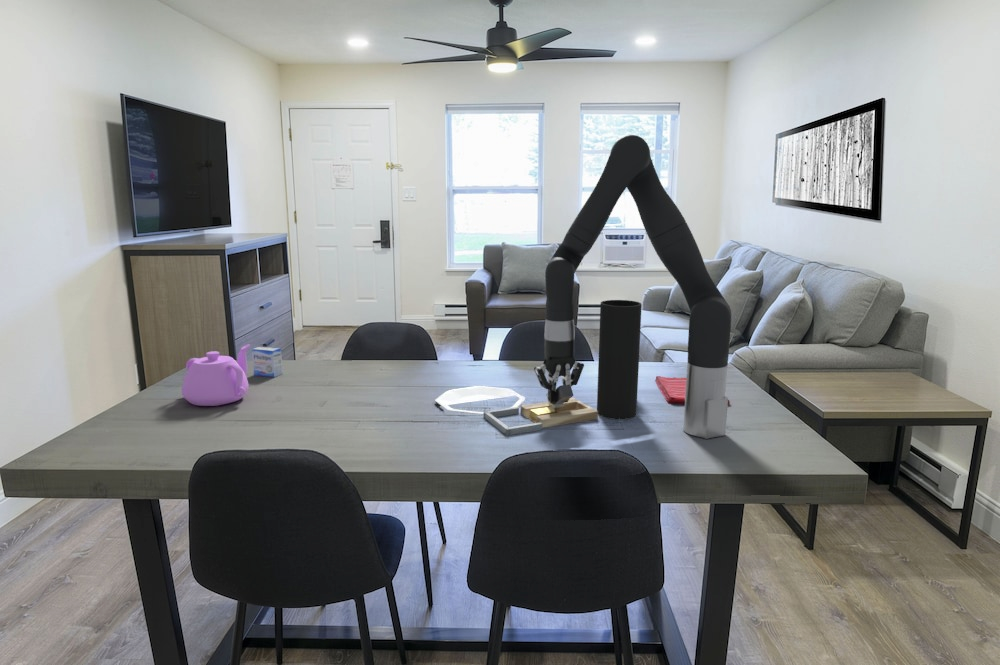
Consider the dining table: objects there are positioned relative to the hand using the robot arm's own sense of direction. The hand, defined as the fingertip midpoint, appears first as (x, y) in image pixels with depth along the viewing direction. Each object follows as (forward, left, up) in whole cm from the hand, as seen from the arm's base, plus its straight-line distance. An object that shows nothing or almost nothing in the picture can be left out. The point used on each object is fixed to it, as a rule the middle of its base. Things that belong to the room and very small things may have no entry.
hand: (559, 402), depth 169 cm
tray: (0, +13, -5) cm, 14 cm away
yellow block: (0, +3, -4) cm, 5 cm away
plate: (+21, +13, -5) cm, 25 cm away
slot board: (0, 0, -5) cm, 5 cm away
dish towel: (+5, -47, -6) cm, 47 cm away
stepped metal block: (+4, 0, -1) cm, 4 cm away
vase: (-4, -15, -5) cm, 16 cm away
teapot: (+55, +78, -5) cm, 96 cm away
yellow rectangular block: (0, +6, -4) cm, 7 cm away
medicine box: (+75, +64, -5) cm, 99 cm away
